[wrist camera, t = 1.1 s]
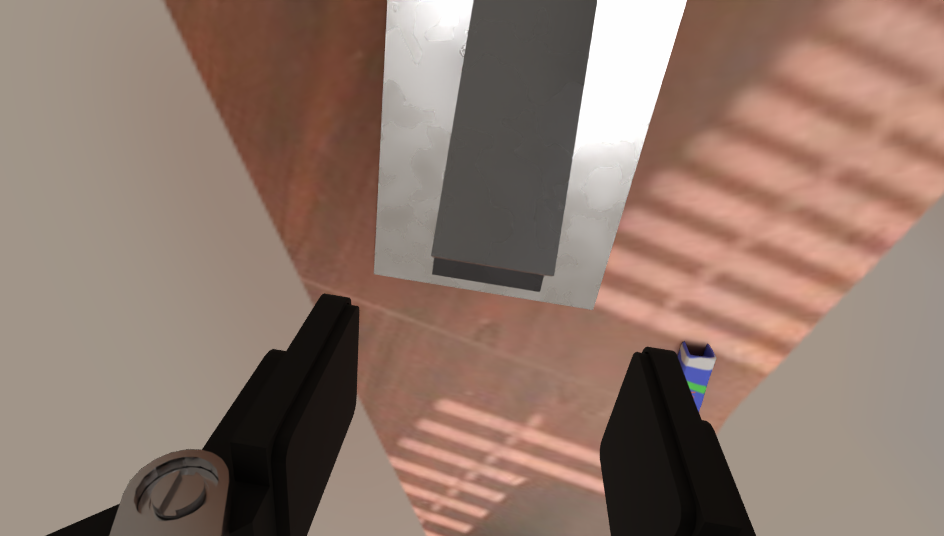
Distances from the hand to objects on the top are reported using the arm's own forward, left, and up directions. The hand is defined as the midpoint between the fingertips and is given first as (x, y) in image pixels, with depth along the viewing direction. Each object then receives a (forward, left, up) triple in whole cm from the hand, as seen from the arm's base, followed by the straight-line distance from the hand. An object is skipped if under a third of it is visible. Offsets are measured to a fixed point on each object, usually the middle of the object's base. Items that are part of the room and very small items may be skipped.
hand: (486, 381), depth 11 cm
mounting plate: (0, 0, -22) cm, 22 cm away
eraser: (+16, +15, -22) cm, 31 cm away
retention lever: (-3, 0, -15) cm, 16 cm away
